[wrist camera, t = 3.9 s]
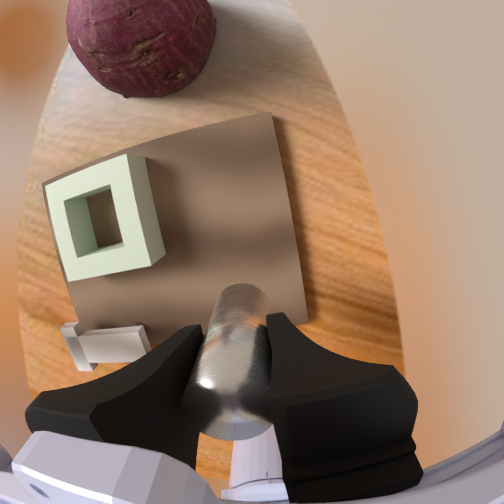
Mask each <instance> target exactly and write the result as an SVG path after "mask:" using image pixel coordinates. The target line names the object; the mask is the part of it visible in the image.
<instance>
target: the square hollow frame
mask: <svg viewBox="0 0 504 504" xmlns="http://www.w3.org/2000/svg"><path fill="white" fill-rule="evenodd" d="M45 188H46V194H47V200H48V205H49V210H50V215H51V219H52V224H53V228H54V232H55V237H56V241H57V244H58V248H59V252H60V256H61V259H62V263H63V266H64V269H65V273H66V276H67V279H68V282H70V281H76V280H81V279H86V278H91V277H96V276H101V275H106V274H111V273H117V272H122V271H127V270H132V269H137V268H142V267H148V266H152V265H153V264H154V263H155V262H157V261H158V260H159V259H160V258H162V257H163V256H164V255H165V254H166V252H165V248H164V244H163V240H162V236H161V231H160V227H159V223H158V219H157V214H156V210H155V205H154V201H153V196H152V191H151V187H150V182H149V177H148V172H147V166H146V161H145V157H143V156H137V155H131V154H124V155H121V156H118V157H115V158H113V159H110V160H107V161H104V162H102V163H99V164H96V165H94V166H91V167H89V168H86V169H84V170H81V171H79V172H76V173H74V174H71V175H69V176H67V177H64V178H62V179H60V180H57V181H55V182H53V183H51V184H48V185H46V186H45ZM109 189H111V191H112V196H113V201H114V205H115V210H116V214H117V219H118V223H119V227H120V231H121V235H122V239H123V242H121V243H117V244H113V245H109V246H105V247H101V248H98V246H97V242H96V239H95V235H94V231H93V226H92V222H91V218H90V213H89V209H88V204H87V199H86V197H89V196H91V195H94V194H97V193H100V192H103V191H106V190H109Z"/></svg>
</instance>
